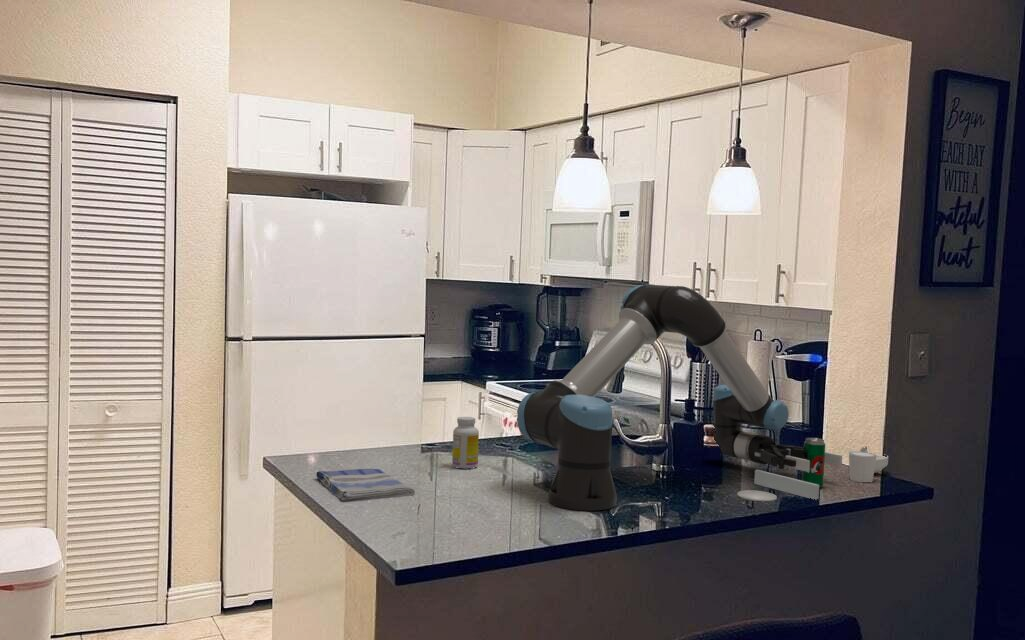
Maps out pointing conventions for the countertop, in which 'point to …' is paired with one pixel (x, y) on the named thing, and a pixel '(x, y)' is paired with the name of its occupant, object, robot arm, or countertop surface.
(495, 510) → the countertop surface
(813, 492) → the acrylic fence
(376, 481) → the dish towel
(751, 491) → the disc
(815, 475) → the soda can
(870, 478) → the white cup
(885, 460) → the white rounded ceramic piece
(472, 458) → the supplement bottle
